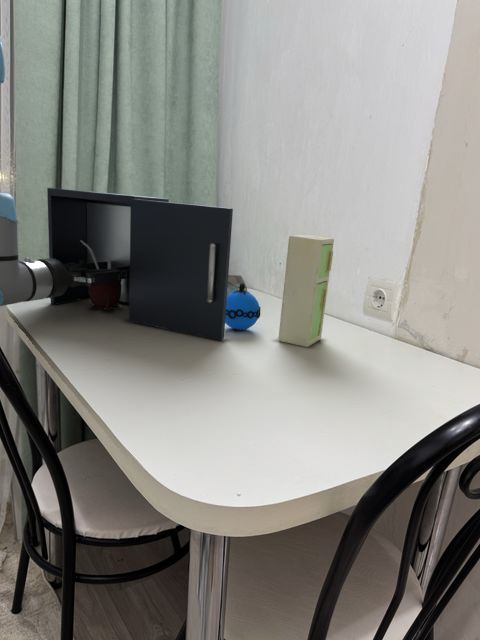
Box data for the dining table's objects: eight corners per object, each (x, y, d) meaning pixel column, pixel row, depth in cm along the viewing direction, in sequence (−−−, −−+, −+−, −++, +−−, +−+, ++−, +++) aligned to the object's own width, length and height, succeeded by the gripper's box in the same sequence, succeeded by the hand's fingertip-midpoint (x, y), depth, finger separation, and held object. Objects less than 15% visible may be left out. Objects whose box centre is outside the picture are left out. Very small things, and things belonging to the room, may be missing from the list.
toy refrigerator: (311, 348, 99) (324, 239, 93) (277, 341, 102) (288, 235, 96) (324, 340, 106) (337, 238, 100) (292, 333, 109) (303, 234, 103)
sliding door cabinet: (40, 305, 113) (36, 187, 106) (87, 297, 126) (86, 191, 119) (217, 343, 97) (226, 205, 90) (249, 328, 110) (260, 207, 103)
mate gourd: (124, 310, 114) (123, 242, 110) (88, 312, 111) (85, 242, 107) (117, 304, 121) (115, 240, 117) (82, 305, 117) (79, 239, 113)
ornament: (228, 322, 113) (231, 278, 111) (264, 328, 111) (268, 283, 108) (211, 330, 106) (214, 283, 103) (250, 337, 103) (254, 288, 100)
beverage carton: (214, 309, 125) (216, 283, 124) (212, 295, 144) (214, 272, 142) (246, 311, 127) (248, 285, 125) (240, 297, 145) (242, 274, 143)
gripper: (79, 266, 93) (154, 258, 113) (2, 253, 100) (85, 248, 120) (79, 306, 95) (153, 291, 115) (4, 290, 102) (86, 279, 122)
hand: (118, 269), depth 118 cm, fingers closed on mate gourd, 6 cm apart
